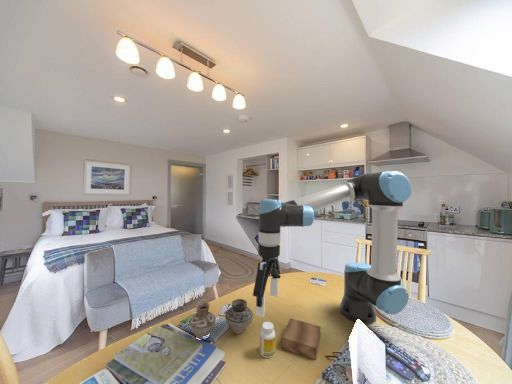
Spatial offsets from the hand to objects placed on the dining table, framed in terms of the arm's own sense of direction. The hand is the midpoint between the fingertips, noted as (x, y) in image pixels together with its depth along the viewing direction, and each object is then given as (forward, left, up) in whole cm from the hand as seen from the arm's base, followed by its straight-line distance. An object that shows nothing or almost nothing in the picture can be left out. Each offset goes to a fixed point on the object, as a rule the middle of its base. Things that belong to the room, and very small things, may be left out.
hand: (267, 304), depth 71 cm
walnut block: (-10, -10, -17) cm, 22 cm away
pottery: (+20, -2, -17) cm, 26 cm away
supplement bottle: (0, 0, -17) cm, 17 cm away
